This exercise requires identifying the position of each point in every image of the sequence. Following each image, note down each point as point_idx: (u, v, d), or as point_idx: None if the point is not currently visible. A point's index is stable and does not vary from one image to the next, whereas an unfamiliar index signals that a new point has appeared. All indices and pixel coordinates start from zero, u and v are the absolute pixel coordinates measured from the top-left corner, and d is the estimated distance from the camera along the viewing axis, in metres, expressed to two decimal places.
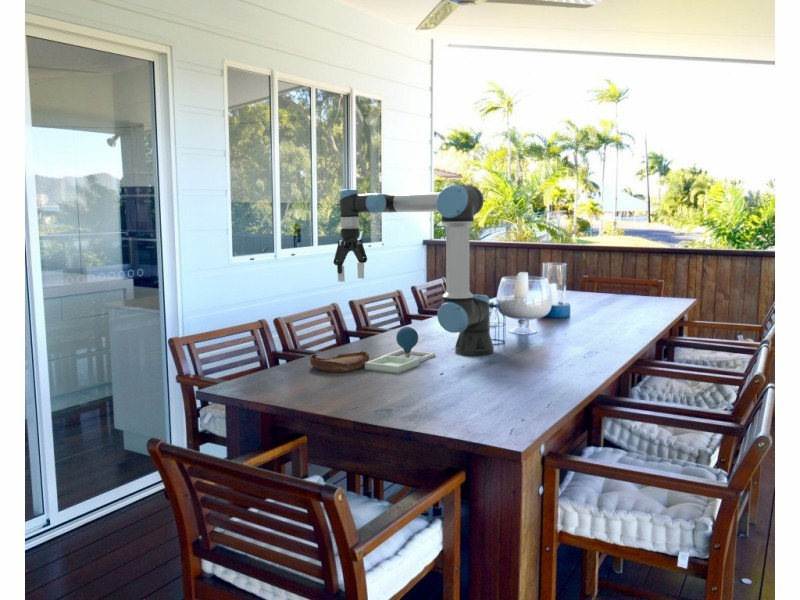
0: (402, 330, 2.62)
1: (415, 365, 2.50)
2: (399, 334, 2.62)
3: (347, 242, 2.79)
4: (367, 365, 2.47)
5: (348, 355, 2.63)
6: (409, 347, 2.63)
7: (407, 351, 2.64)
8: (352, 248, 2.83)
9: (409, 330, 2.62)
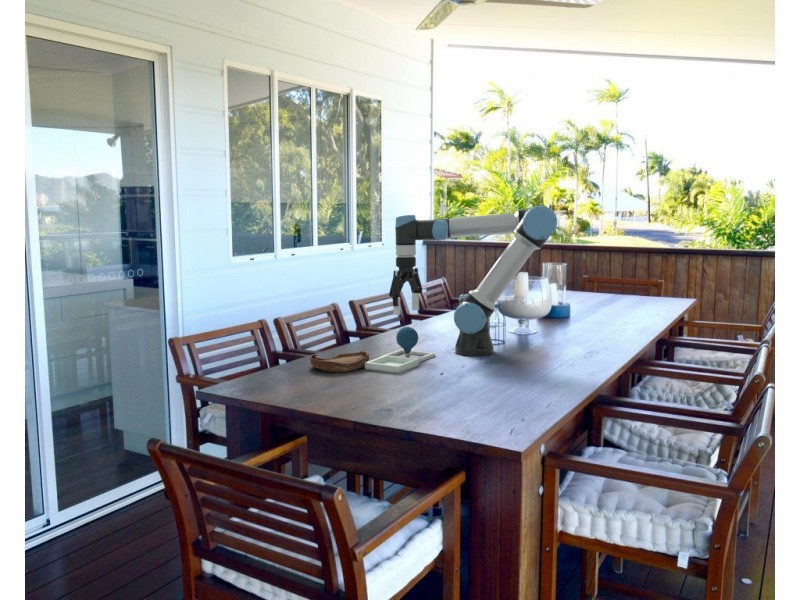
0: (402, 330, 2.62)
1: (415, 365, 2.50)
2: (399, 334, 2.62)
3: (403, 272, 2.58)
4: (367, 365, 2.47)
5: (348, 355, 2.63)
6: (409, 347, 2.63)
7: (407, 351, 2.64)
8: (408, 278, 2.61)
9: (409, 330, 2.62)
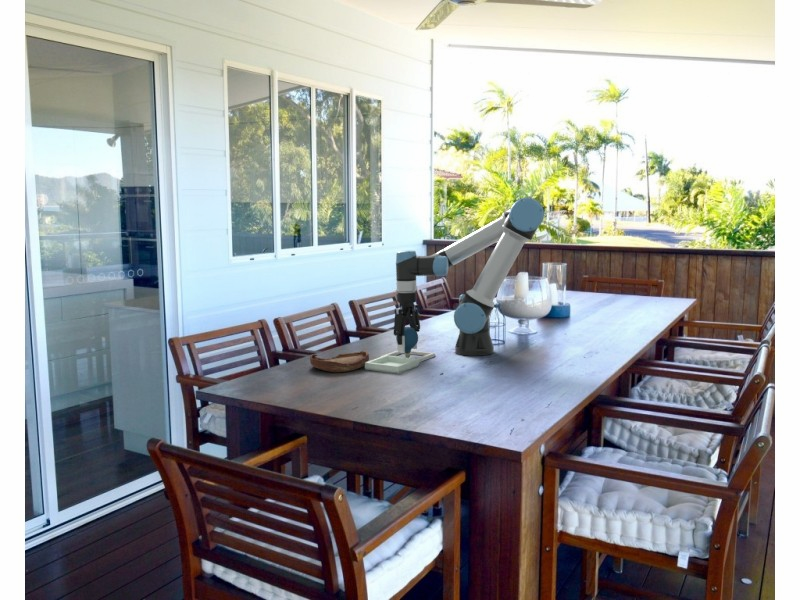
0: None
1: (415, 365, 2.50)
2: None
3: (404, 308, 2.60)
4: (367, 365, 2.47)
5: (348, 355, 2.63)
6: (409, 347, 2.63)
7: (407, 351, 2.64)
8: (409, 313, 2.63)
9: (409, 330, 2.62)
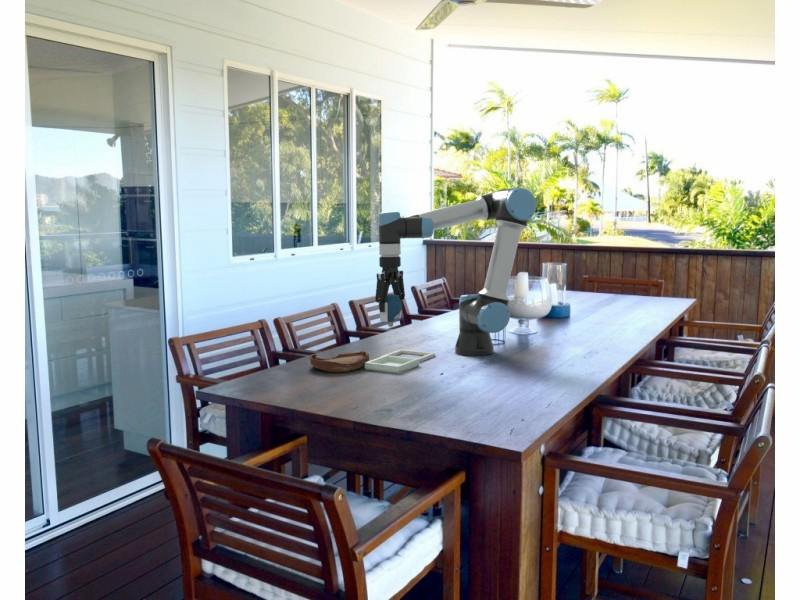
0: None
1: (415, 365, 2.50)
2: None
3: (387, 273, 2.42)
4: (367, 365, 2.47)
5: (348, 355, 2.63)
6: (392, 315, 2.45)
7: (390, 320, 2.47)
8: (392, 279, 2.46)
9: (392, 296, 2.45)
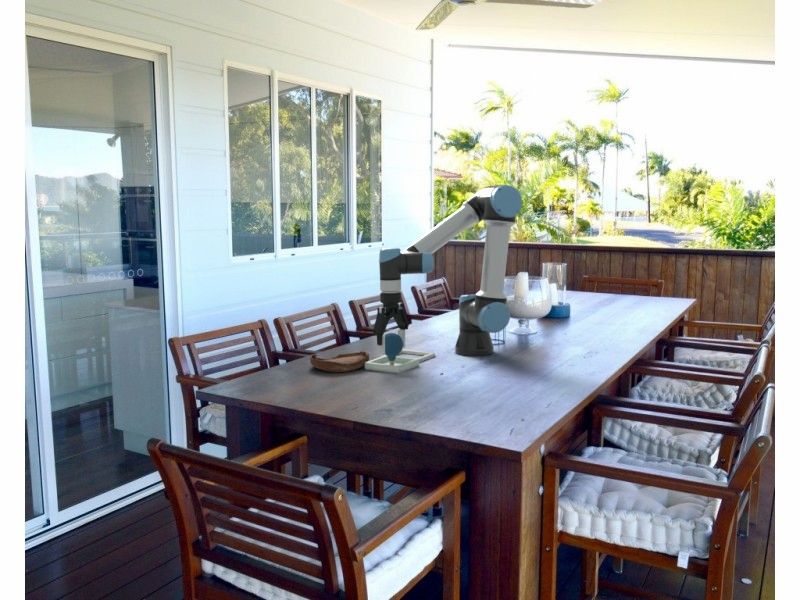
0: (386, 336, 2.47)
1: (415, 365, 2.50)
2: None
3: (388, 309, 2.44)
4: (367, 365, 2.47)
5: (348, 355, 2.63)
6: (393, 354, 2.47)
7: (391, 359, 2.48)
8: (393, 315, 2.47)
9: (393, 336, 2.46)
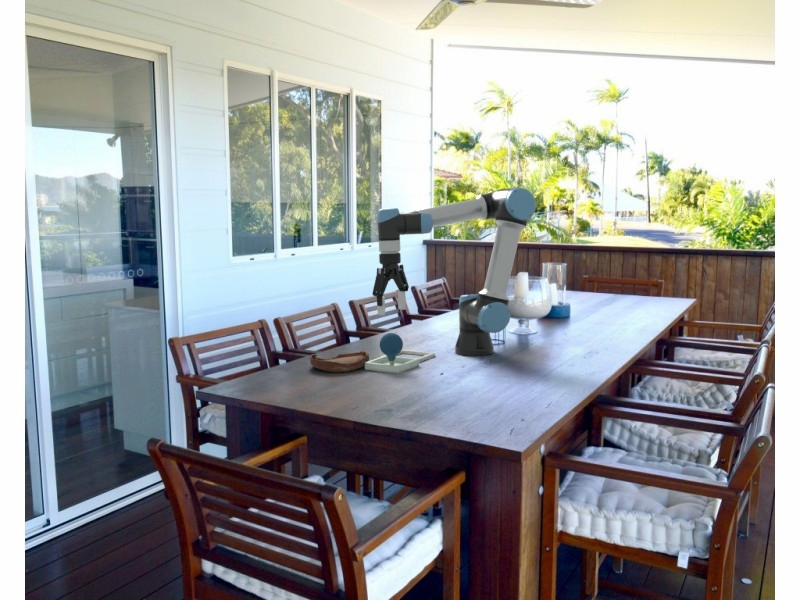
0: (385, 336, 2.47)
1: (415, 365, 2.50)
2: (382, 341, 2.46)
3: (387, 269, 2.42)
4: (367, 365, 2.47)
5: (348, 355, 2.63)
6: (393, 354, 2.47)
7: (391, 359, 2.48)
8: (393, 276, 2.45)
9: (393, 336, 2.46)
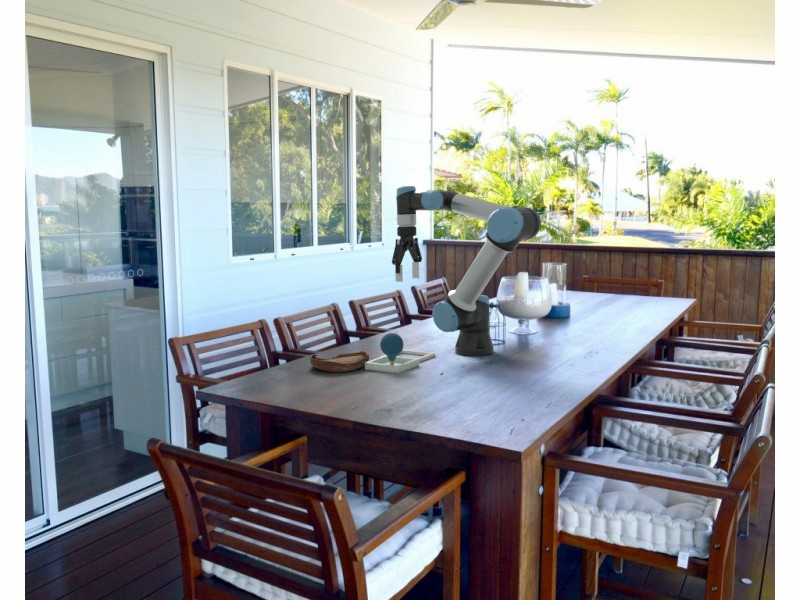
0: (386, 336, 2.46)
1: (415, 365, 2.50)
2: (383, 341, 2.46)
3: (405, 241, 2.70)
4: (367, 365, 2.47)
5: (348, 355, 2.63)
6: (393, 355, 2.47)
7: (391, 359, 2.48)
8: (409, 247, 2.73)
9: (394, 336, 2.46)
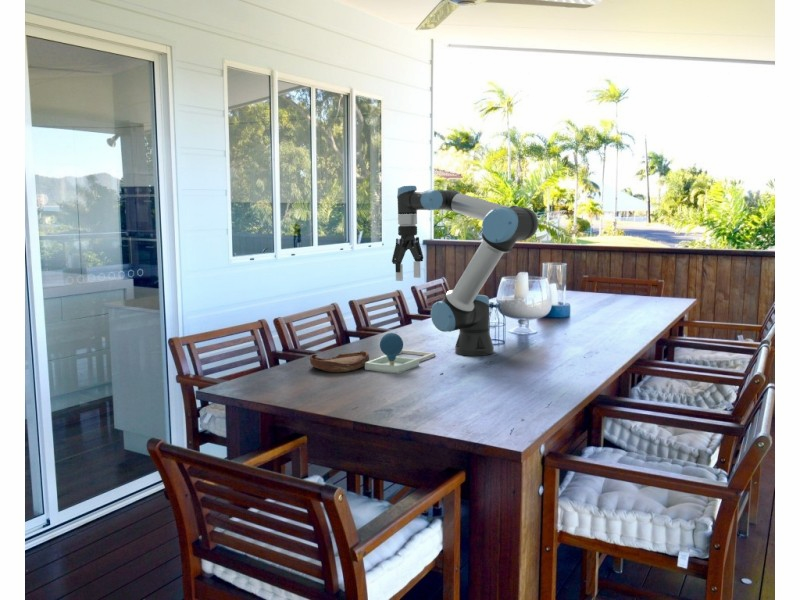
0: (386, 336, 2.47)
1: (415, 365, 2.50)
2: (383, 341, 2.46)
3: (405, 240, 2.71)
4: (367, 365, 2.47)
5: (348, 355, 2.63)
6: (393, 354, 2.47)
7: (391, 359, 2.48)
8: (410, 246, 2.74)
9: (393, 336, 2.46)
